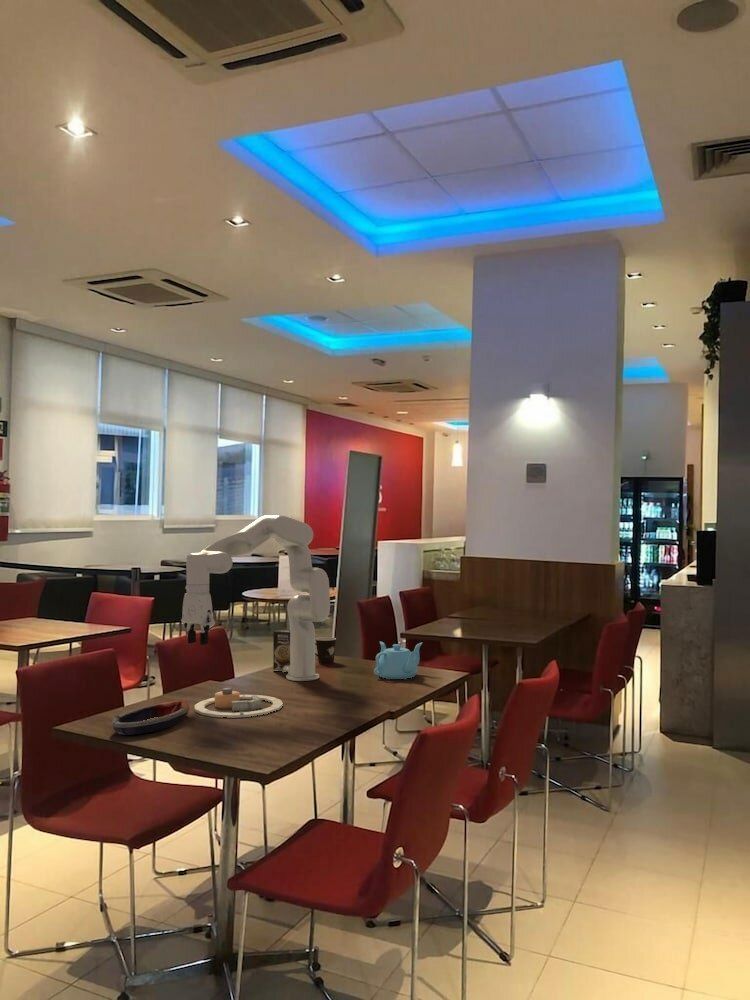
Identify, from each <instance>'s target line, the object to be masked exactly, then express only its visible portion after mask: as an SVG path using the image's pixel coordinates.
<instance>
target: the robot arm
mask: <svg viewBox="0 0 750 1000" xmlns="http://www.w3.org/2000/svg"><path fill="white" fill-rule="evenodd" d="M271 539H275V541H276V542H277V543H278V544H279V545H281V546H282V547H283V548H284V549H285V552H286V553H287V556H288V563H289V564H288V565H289V568H288V569H289V583H290V586H291V588H292V590H293V591H296V592H301V593H309V594H308V595H306V594H297V595H294V596H292V597H291V598H290V599H289V600H288V603H287V606H286V607H287V615H288V620H289V622H288V623H289V630H290V666H288V665H285V666H284V668H283V671H288V673H286V675H285V676H286V677H285V678H286V680H289V681H294V682H304V681H305V682H308V681H315V680H318V679H319V678H320V674H319V673H317V672H316V655H315V653H316V645H315V643H316V629H315V625H314V623H313V622H316V623H322V622H324V621H325V620H327V619H328V617H329V614H330V612H331V597H330V596H331V595H330V593H331V591H330V580H329V577H328V574H327V572H326V571H325V570H324V569H323V568H319V567H313V565H312V554H311V551H310V548H309V546H308V545H310V544H311V542H312V541H313V539H314V531H313V529H312V527H311V526H310V525H309V523H305V522H302V521H299V520H297V519H294V518H292V517H290V516H289V517H288V516H285V515H281V514H272V515H270V514H269V515H268V514H266V515H265V514H264V515H263V516H260V517H258V518H257V519H255V520H254V521H252V522H251V523H250V524H248V525H246V526H245V527H244V528H242V529H240V530H238V531H237V532H235V533H233V534H230V535H227V536H226V537H224V538H221V539H219V540H216V541H215V542H213V543H211V544H209V545H207V546H206V547H205V548H203V549H202V550H201V551H200V552H192V553H188V554H187V555H186V563H185V564H186V585H185V590H186V593H184V596H183V602H182V611H181V612H182V617H181V619H180V621H181V623H182V625H183V626H184V627H185V629H186V632H187V643H188V644H195V643H196V642H197V630H196V629H195V628H196V625H199V627H200V630H201V632H199V633H200V634H199V639H200V640H199V644H200V646H203V645H207V644H209V632H211V631H210V630H211V629H212V627H214V625H216V621H215V618H213V604H212V603H213V602H212V596H211V593H210V574H219V575H220V574H225V573H227V572H228V571H230V570H231V569H232V567H233V557H236V556H237V557H238V556H243V555H246V554H250V553H252V552H253V551H254V550H257V549H258V548H259V547H260V546H261V545H263V544H265V543H266V542H267V541H269V540H271Z"/></svg>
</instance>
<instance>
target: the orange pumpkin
mask: <svg viewBox="0 0 750 1000" xmlns="http://www.w3.org/2000/svg"><path fill="white" fill-rule="evenodd" d="M221 690H222V691H218V692H215V693H214V698H215V703H214V708H217V707H219V708H218V709H232V708H231V707H232V701H241V699H240V695H241V694H240V692H239V691H237V690H233V688H232V687H224V688H222V689H221Z"/></svg>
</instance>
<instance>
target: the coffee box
mask: <svg viewBox="0 0 750 1000" xmlns="http://www.w3.org/2000/svg"><path fill="white" fill-rule="evenodd" d="M272 632H273V637H272V638H273V641H272V642H273V650H272V651H273V655H272V656H273V657H272V659H273V660H272V662H273V663H272V666H273V670H272V671H274V670H278V671H283V668H284V666H285V665H288V666H290V629H278V630H274V631H272ZM286 672H288V671H286Z"/></svg>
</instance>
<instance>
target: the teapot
mask: <svg viewBox="0 0 750 1000" xmlns="http://www.w3.org/2000/svg"><path fill="white" fill-rule="evenodd" d="M422 644H423V642H419V643H417V644H416V645H415V647H414V649H413V651H411V650H410V649H408V648H405V647H404V648H403V647H402V645H401V644H400V643H399V644H396V643H394V644H392V647H390V648H387V646H386V644H385V642H383V641H379V645H380V652H379V653H377V654H376V656H375V664H376V667H375V668H374V669H373V673H374V674H375V675H376V676H379V677H380V678H381V677H382V678H381V679H384V678H386V679H385V680H390V679H404V680H408V679H407V678H411V679H413V678H414V677H415V676H416V674H418V670H419V669H418V665H419V664H420V660H421V658H420V656H421V655H420V648H421V647H422ZM412 677H413V678H412Z"/></svg>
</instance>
